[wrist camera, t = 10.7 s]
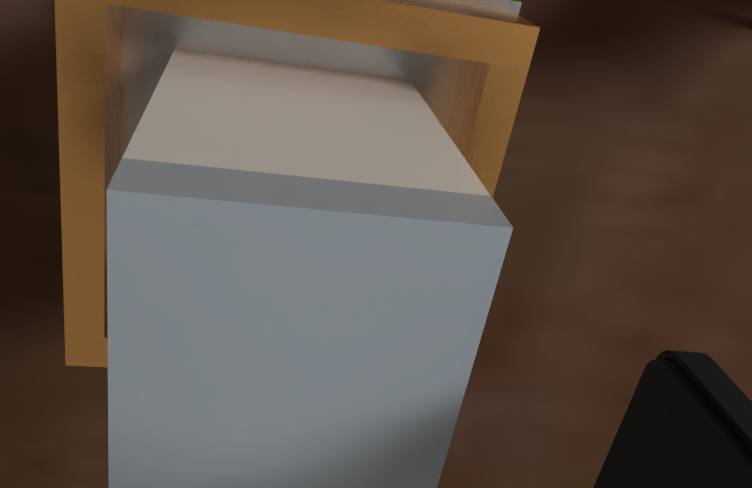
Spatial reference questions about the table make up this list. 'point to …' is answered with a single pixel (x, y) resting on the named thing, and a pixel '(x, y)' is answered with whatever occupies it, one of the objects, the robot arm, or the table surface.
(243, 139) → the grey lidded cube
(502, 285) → the table surface
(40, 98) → the table surface
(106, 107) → the grey and orange container
